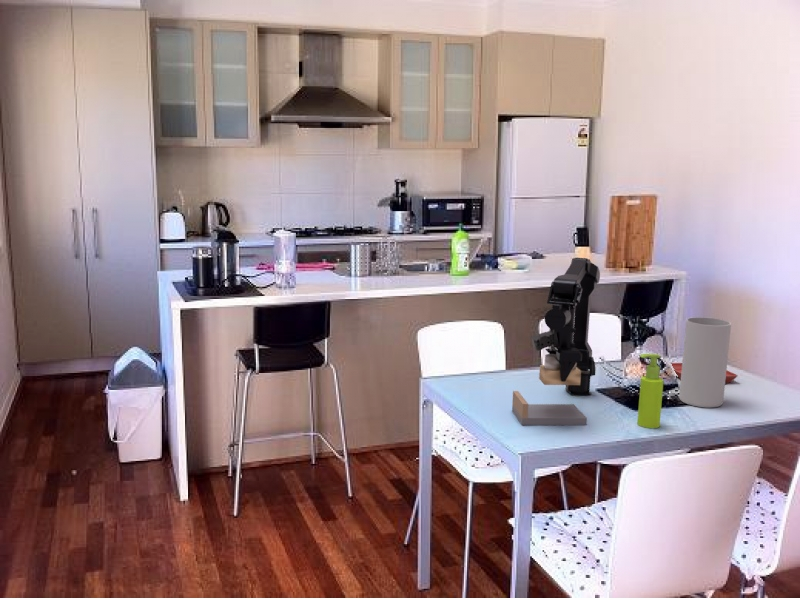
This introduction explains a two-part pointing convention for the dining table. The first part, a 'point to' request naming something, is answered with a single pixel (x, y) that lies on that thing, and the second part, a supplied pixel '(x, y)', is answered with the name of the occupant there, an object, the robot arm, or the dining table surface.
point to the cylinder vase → (704, 361)
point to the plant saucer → (678, 369)
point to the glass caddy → (557, 373)
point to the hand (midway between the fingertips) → (559, 378)
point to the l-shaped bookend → (546, 413)
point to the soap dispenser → (650, 394)
